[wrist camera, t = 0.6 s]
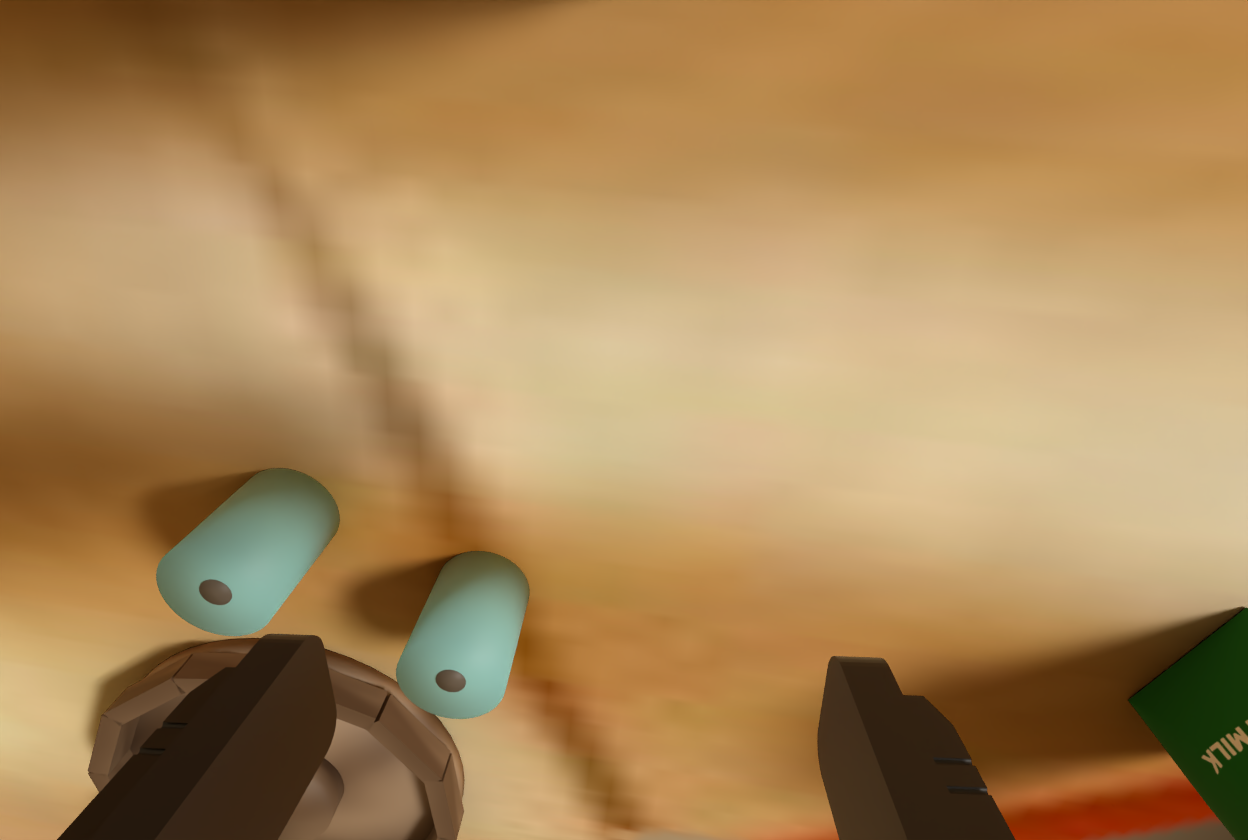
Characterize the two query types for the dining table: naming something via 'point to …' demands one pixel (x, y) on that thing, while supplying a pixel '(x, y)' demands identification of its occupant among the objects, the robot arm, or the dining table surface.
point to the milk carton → (1207, 720)
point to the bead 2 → (465, 637)
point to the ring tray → (354, 765)
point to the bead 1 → (249, 553)
